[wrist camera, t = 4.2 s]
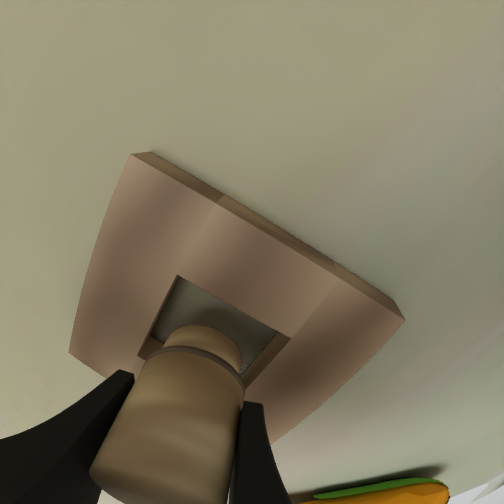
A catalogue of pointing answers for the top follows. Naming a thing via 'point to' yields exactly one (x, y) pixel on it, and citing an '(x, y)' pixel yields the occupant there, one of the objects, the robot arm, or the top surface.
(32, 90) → the top surface
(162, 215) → the board
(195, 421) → the peg
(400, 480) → the corn
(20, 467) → the robot arm
